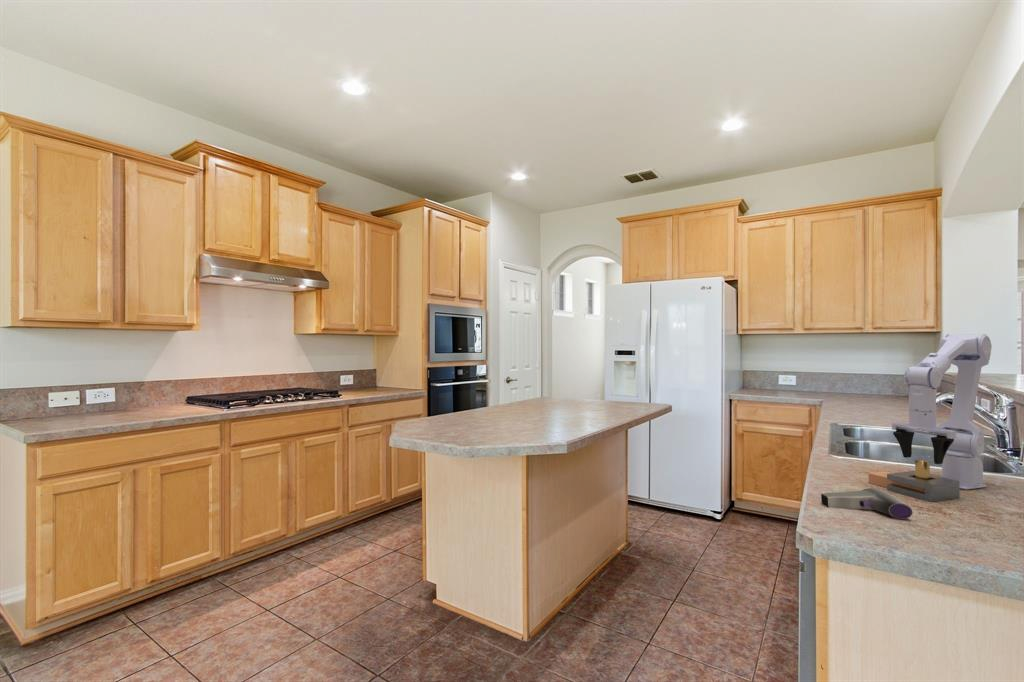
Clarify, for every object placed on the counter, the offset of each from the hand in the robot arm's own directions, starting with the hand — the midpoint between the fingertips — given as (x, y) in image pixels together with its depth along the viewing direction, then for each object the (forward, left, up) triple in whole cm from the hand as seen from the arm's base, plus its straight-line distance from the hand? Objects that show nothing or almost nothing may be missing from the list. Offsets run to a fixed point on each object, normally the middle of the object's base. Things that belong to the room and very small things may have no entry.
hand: (922, 460), depth 133 cm
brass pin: (0, 0, -9) cm, 9 cm away
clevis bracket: (0, 0, -9) cm, 9 cm away
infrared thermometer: (+29, +5, -10) cm, 31 cm away
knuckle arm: (0, -4, -9) cm, 10 cm away
